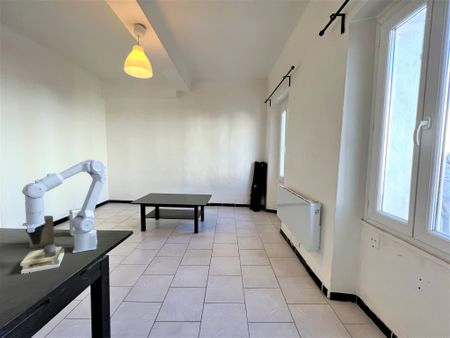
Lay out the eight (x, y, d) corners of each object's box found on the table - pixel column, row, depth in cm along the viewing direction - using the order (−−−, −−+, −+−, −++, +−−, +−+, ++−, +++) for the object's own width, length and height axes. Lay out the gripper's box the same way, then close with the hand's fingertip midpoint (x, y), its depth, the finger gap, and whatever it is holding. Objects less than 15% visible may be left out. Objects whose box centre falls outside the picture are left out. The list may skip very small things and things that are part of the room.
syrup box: (81, 231, 129) (80, 207, 128) (84, 234, 125) (83, 209, 124) (69, 234, 124) (68, 209, 124) (72, 236, 121) (72, 211, 120)
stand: (64, 254, 99) (64, 248, 99) (58, 266, 88) (58, 260, 88) (31, 259, 94) (31, 253, 93) (21, 274, 82) (21, 267, 82)
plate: (62, 248, 98) (62, 237, 98) (57, 259, 88) (57, 247, 88) (30, 253, 93) (29, 242, 93) (20, 266, 82) (19, 253, 82)
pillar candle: (59, 241, 114) (57, 213, 114) (41, 248, 105) (40, 218, 104) (42, 240, 115) (41, 213, 115) (23, 248, 106) (22, 218, 105)
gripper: (27, 209, 94) (29, 239, 95) (15, 217, 81) (17, 252, 82) (48, 207, 97) (49, 236, 98) (39, 215, 84) (41, 248, 85)
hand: (36, 243), depth 90 cm, fingers closed
